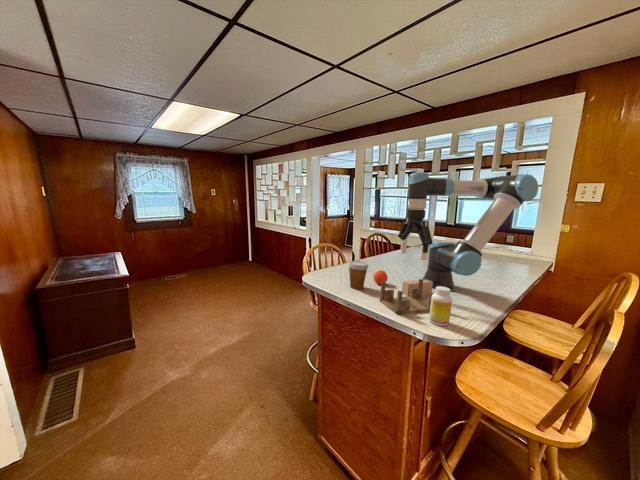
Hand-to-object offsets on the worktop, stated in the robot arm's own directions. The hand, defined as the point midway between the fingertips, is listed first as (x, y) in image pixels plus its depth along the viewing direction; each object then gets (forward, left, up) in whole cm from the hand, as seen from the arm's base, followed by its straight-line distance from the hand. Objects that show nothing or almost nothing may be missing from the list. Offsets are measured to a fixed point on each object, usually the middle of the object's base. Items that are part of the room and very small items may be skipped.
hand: (412, 256), depth 117 cm
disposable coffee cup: (+20, -14, -18) cm, 30 cm away
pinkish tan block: (-5, -1, -18) cm, 19 cm away
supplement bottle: (+6, +26, -18) cm, 32 cm away
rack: (+8, +11, -18) cm, 23 cm away
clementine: (+5, -17, -18) cm, 26 cm away
